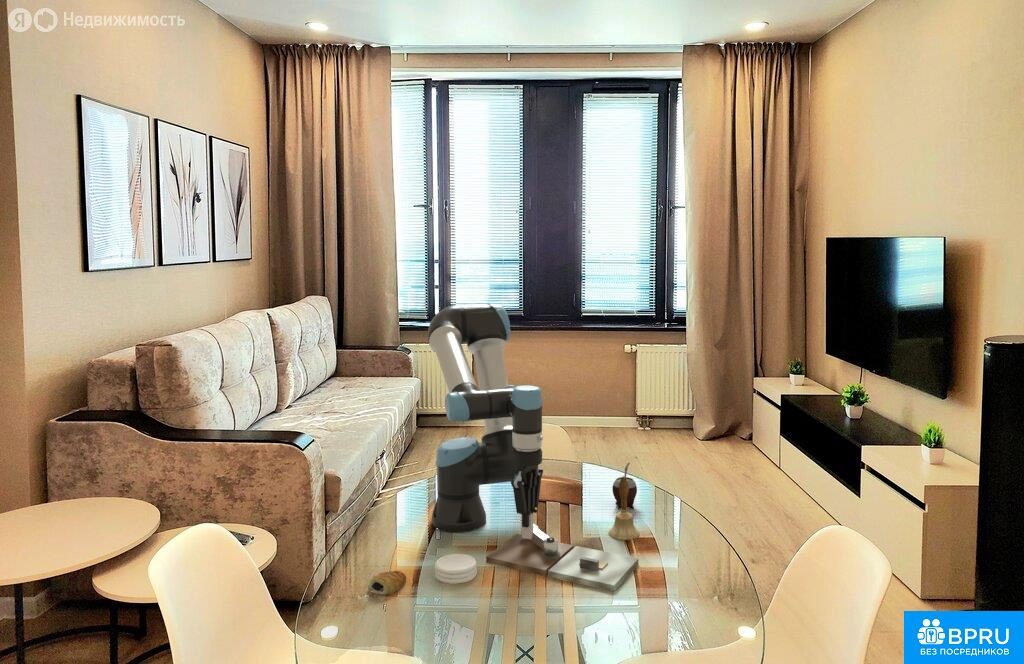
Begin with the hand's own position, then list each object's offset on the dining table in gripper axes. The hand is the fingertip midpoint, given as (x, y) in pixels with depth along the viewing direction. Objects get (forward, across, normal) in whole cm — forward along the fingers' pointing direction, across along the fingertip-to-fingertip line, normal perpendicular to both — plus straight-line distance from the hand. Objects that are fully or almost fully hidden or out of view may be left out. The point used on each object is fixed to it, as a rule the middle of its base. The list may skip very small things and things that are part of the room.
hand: (527, 537), depth 208 cm
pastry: (+5, -33, +20) cm, 38 cm away
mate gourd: (+3, +40, -10) cm, 42 cm away
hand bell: (+3, +22, -18) cm, 28 cm away
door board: (+4, -2, -11) cm, 12 cm away
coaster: (+5, -20, +9) cm, 22 cm away
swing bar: (+1, +1, -3) cm, 4 cm away
